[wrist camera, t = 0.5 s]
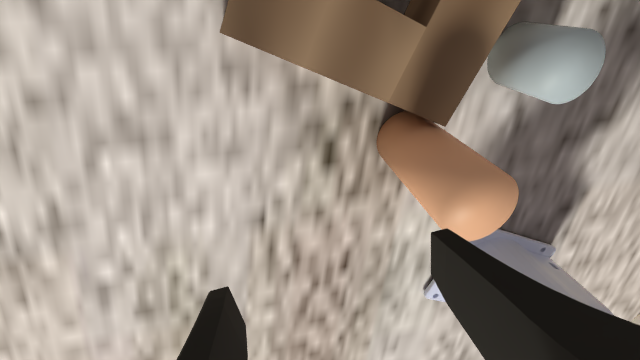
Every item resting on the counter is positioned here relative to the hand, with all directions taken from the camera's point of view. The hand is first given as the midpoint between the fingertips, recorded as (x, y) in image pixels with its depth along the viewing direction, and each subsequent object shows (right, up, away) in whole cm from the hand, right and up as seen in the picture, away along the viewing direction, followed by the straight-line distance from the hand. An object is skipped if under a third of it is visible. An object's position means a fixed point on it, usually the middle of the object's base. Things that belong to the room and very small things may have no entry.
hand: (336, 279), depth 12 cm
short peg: (+11, +11, +8) cm, 18 cm away
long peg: (+5, +6, +10) cm, 12 cm away
